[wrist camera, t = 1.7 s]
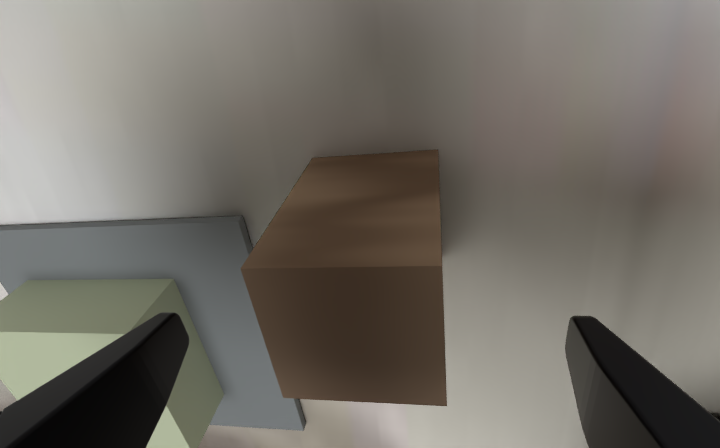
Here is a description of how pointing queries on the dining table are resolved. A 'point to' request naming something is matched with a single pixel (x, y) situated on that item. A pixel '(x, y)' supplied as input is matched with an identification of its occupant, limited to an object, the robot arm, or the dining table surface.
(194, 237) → the build mat
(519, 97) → the dining table surface
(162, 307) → the base block
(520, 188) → the dining table surface
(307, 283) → the walnut block
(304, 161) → the dining table surface
